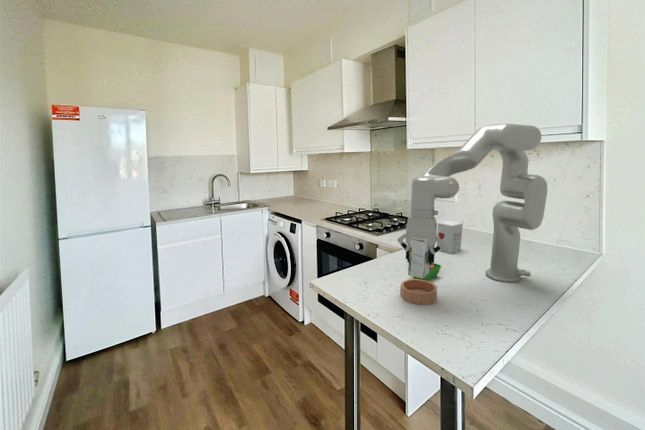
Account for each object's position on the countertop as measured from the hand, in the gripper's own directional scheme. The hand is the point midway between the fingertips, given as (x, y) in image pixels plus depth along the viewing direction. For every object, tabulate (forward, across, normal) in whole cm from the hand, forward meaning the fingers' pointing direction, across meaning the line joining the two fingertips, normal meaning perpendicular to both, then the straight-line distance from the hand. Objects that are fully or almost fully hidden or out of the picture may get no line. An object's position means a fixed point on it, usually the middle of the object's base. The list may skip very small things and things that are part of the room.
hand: (419, 262), depth 113 cm
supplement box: (+13, -8, -60) cm, 62 cm away
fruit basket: (+13, 0, -19) cm, 23 cm away
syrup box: (+5, 0, 0) cm, 5 cm away
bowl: (+13, 0, 0) cm, 13 cm away
